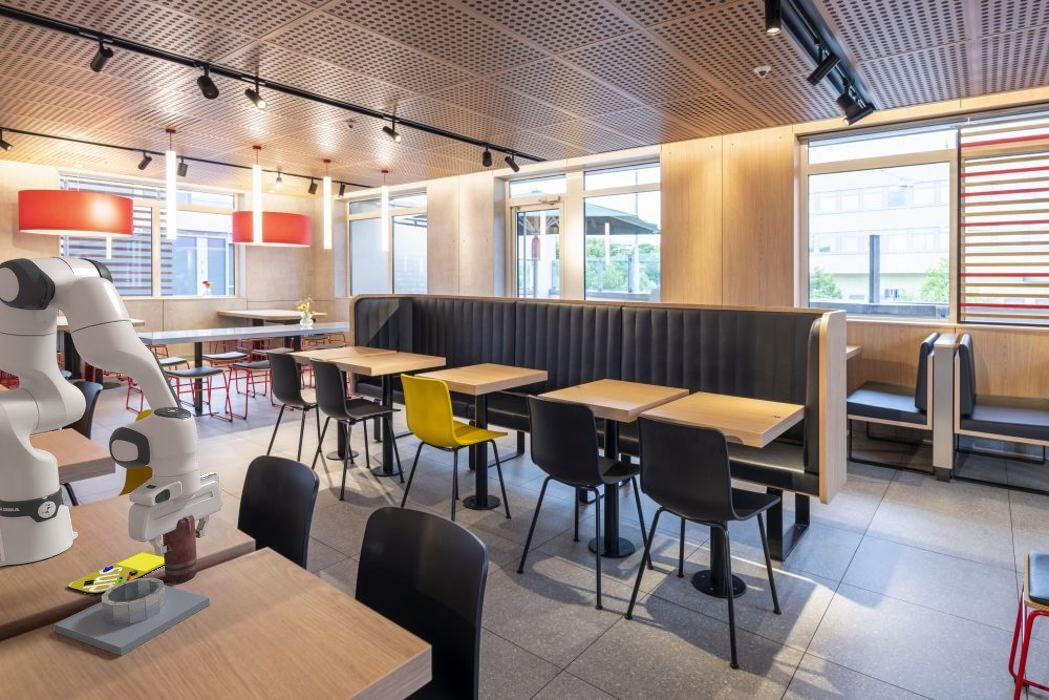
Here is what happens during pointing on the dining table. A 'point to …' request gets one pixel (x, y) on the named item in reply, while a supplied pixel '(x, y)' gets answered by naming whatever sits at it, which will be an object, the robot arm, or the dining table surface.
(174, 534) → the can
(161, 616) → the base board
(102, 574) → the game console
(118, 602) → the ring holder
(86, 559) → the dining table surface
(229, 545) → the dining table surface
